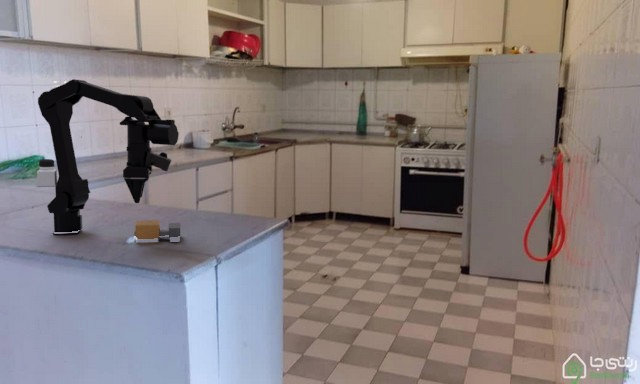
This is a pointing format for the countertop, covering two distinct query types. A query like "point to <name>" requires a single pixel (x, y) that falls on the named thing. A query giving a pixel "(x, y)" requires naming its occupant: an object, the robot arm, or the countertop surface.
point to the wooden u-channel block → (147, 229)
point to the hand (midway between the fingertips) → (138, 200)
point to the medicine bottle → (46, 173)
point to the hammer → (170, 230)
